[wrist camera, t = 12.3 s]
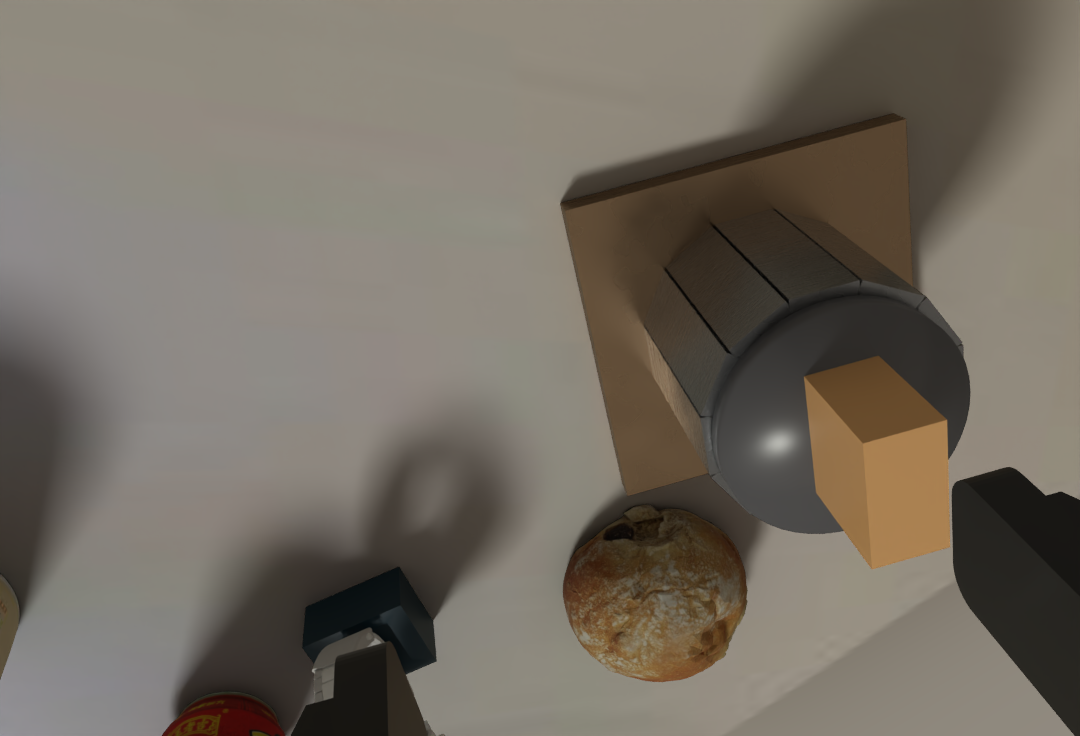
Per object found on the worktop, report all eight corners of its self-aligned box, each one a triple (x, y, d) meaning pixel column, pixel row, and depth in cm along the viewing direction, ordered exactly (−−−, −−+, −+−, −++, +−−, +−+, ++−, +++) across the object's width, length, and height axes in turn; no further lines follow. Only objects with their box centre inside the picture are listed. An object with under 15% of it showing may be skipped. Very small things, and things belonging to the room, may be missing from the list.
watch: (359, 682, 55) (357, 854, 45) (289, 584, 51) (271, 749, 42) (449, 644, 55) (466, 808, 45) (385, 542, 51) (389, 698, 41)
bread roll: (688, 460, 56) (703, 488, 48) (771, 612, 57) (800, 665, 49) (539, 539, 57) (530, 579, 49) (622, 688, 58) (627, 752, 50)
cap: (683, 320, 38) (749, 413, 31) (934, 251, 38) (1052, 328, 32) (717, 526, 43) (781, 644, 36) (940, 463, 43) (1043, 569, 37)
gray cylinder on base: (560, 203, 44) (609, 285, 35) (893, 113, 45) (1025, 172, 36) (622, 483, 52) (675, 610, 43) (906, 403, 52) (1018, 512, 43)
